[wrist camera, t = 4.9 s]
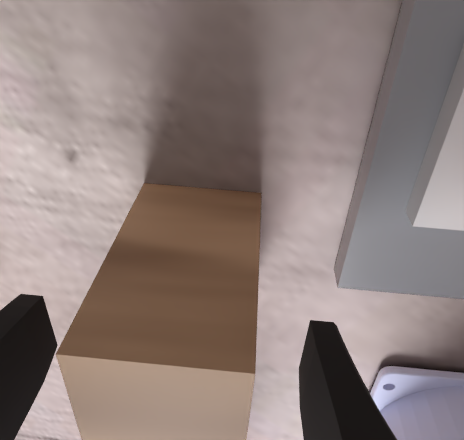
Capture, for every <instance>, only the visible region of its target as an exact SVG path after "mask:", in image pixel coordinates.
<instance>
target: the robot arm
mask: <svg viewBox="0 0 464 440" xmlns="http://www.w3.org/2000/svg"><path fill="white" fill-rule="evenodd" d="M56 348H57V342H56V339H55V335H54V332H53V329H52V325H51V322H50V319H49V315H48V312H47V309H46V305H45V302H44V299H43V296H37V295H26V294H20V295H19V296H18V297H16V298H15V299H14V300H13V301H11V302H10V303H9V304H8V305H7V306H5V307H4V308H3V309H2V310H0V440H14V439H15V437H16V435H17V433H18V431H19V429H20V427H21V425H22V423H23V422H24V420H25V418H26V416H27V414H28V412H29V410H30V408H31V406H32V404H33V402H34V400H35V398H36V396H37V394H38V392H39V390H40V388H41V386H42V384H43V382H44V380H45V378H46V375H47V372H48V370H49V367H50V365H51V362H52V359H53V356H54V353H55V351H56ZM299 392H300V412H301V420H302V428H303V436H304V440H464V373H459V372H449V371H438V370H428V369H418V368H408V367H397V366H387V367H384V368H382V369H381V370H380V371H379V373H378V375H377V378H376V380H375V383H374V385H373V387H372V390H371V392H370V393H369V391H368V389H367V388H366V386H365V384H364V382H363V380H362V378H361V376H360V375H359V373H358V371H357V369H356V367H355V365H354V363H353V361H352V359H351V357H350V355H349V352H348V350H347V348H346V346H345V344H344V342H343V339H342V337H341V335H340V333H339V330H338V328H337V326H336V325H335V323H334V322H324V321H313V320H310V324H309V328H308V332H307V336H306V341H305V345H304V349H303V353H302V358H301V362H300V366H299Z"/></svg>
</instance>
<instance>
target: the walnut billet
mask: <svg viewBox="0 0 464 440" xmlns="http://www.w3.org/2000/svg"><path fill="white" fill-rule="evenodd" d="M260 220H261V193H257V192H244V191H232V190H220V189H208V188H196V187H184V186H172V185H160V184H148V183H144V184H143V186H142V188H141V190H140V192H139V194H138V196H137V198H136V200H135V202H134V204H133V206H132V208H131V210H130V211H129V213H128V215H127V217H126V219H125V221H124V223H123V225H122V227H121V229H120V231H119V233H118V235H117V237H116V239H115V241H114V243H113V244H112V246H111V248H110V250H109V252H108V254H107V256H106V258H105V260H104V262H103V264H102V266H101V268H100V270H99V272H98V274H97V276H96V277H95V279H94V281H93V283H92V285H91V287H90V289H89V291H88V293H87V295H86V297H85V299H84V301H83V303H82V305H81V307H80V309H79V310H78V312H77V314H76V316H75V318H74V320H73V322H72V324H71V326H70V328H69V330H68V332H67V334H66V336H65V338H64V340H63V341H62V343H61V345H60V347H59V349H58V351H57V353H56V357H57V360H58V363H59V366H60V370H61V373H62V376H63V380H64V383H65V386H66V389H67V393H68V396H69V399H70V403H71V406H72V409H73V412H74V416H75V419H76V422H77V426H78V429H79V432H80V435H81V439H82V440H246V438H247V430H248V423H249V416H250V408H251V401H252V393H253V386H254V379H255V363H256V335H257V306H258V277H259V249H260Z"/></svg>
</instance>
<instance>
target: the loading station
mask: <svg viewBox="0 0 464 440" xmlns="http://www.w3.org/2000/svg"><path fill="white" fill-rule="evenodd" d="M334 272H335V277H336V282H337V287H338V288H347V289H358V290H369V291H380V292H390V293H401V294H412V295H423V296H434V297H445V298H456V299H464V0H403V1H402V5H401V8H400V12H399V16H398V20H397V24H396V28H395V32H394V36H393V40H392V44H391V48H390V52H389V56H388V59H387V63H386V67H385V71H384V75H383V79H382V83H381V87H380V91H379V95H378V99H377V103H376V106H375V110H374V114H373V118H372V122H371V126H370V130H369V134H368V138H367V142H366V146H365V150H364V153H363V157H362V161H361V165H360V169H359V173H358V177H357V181H356V185H355V189H354V193H353V197H352V200H351V204H350V208H349V212H348V216H347V220H346V224H345V228H344V232H343V236H342V240H341V244H340V248H339V251H338V255H337V259H336V263H335V267H334Z"/></svg>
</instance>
